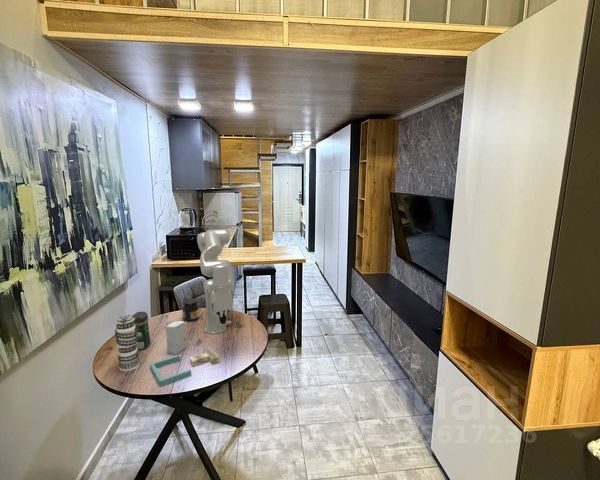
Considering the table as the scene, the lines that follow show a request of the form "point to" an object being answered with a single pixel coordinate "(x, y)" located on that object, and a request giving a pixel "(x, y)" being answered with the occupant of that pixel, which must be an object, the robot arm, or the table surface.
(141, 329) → the coffee jar
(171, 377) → the dock
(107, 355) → the table surface
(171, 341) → the skincare box
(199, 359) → the tee block
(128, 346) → the decorative candle
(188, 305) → the supplement container
